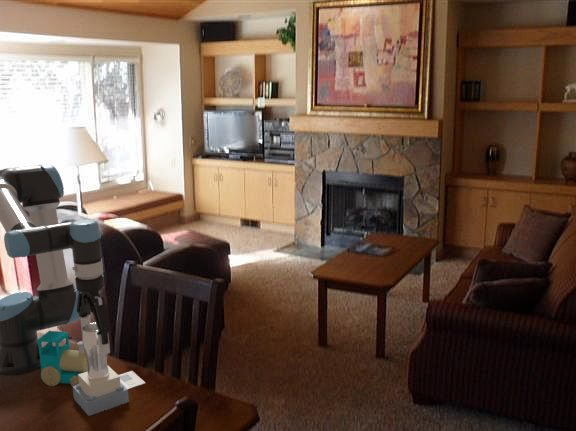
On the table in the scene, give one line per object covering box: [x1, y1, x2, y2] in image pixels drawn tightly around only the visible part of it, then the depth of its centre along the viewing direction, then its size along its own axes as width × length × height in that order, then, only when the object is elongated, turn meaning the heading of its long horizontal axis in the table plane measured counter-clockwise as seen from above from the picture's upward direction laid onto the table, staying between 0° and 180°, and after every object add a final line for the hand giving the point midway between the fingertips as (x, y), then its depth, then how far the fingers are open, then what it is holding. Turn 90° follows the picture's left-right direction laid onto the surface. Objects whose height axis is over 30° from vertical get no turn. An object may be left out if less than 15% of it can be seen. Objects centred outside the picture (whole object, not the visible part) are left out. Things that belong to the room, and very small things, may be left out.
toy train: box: [38, 330, 88, 387], centre depth 192 cm, size 8×17×15 cm, turn 80°
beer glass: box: [81, 322, 109, 380], centre depth 178 cm, size 7×7×15 cm
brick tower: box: [72, 364, 130, 417], centre depth 181 cm, size 12×12×8 cm
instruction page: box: [118, 370, 146, 390], centre depth 193 cm, size 10×7×1 cm
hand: (95, 345), depth 178 cm, fingers open, 13 cm apart
